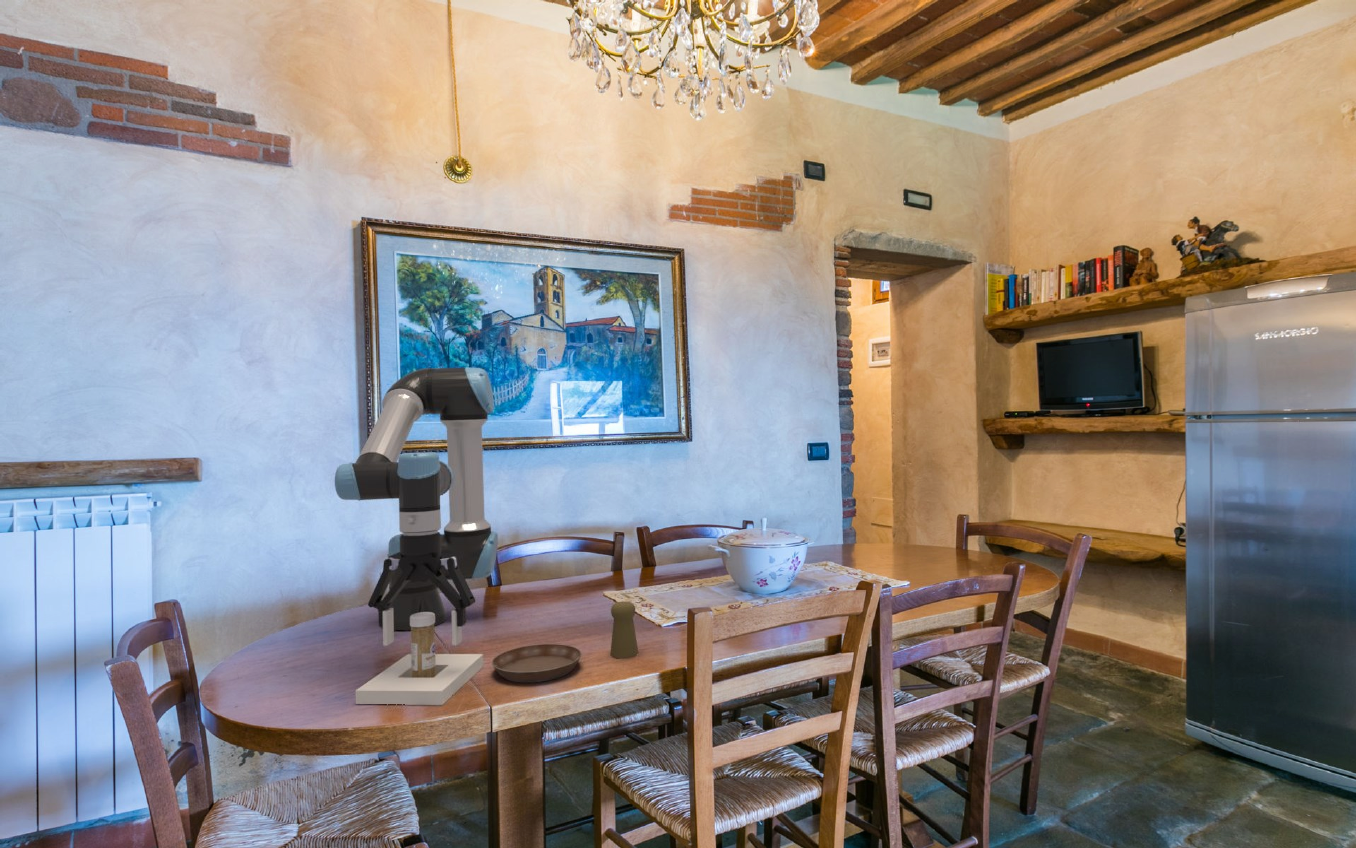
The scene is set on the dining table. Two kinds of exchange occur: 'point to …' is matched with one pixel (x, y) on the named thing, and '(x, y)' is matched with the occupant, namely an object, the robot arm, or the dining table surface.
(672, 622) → the dining table surface
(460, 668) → the white board with recess
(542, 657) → the plant saucer
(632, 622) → the pepper mill
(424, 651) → the sprinkles bottle
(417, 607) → the robot arm
